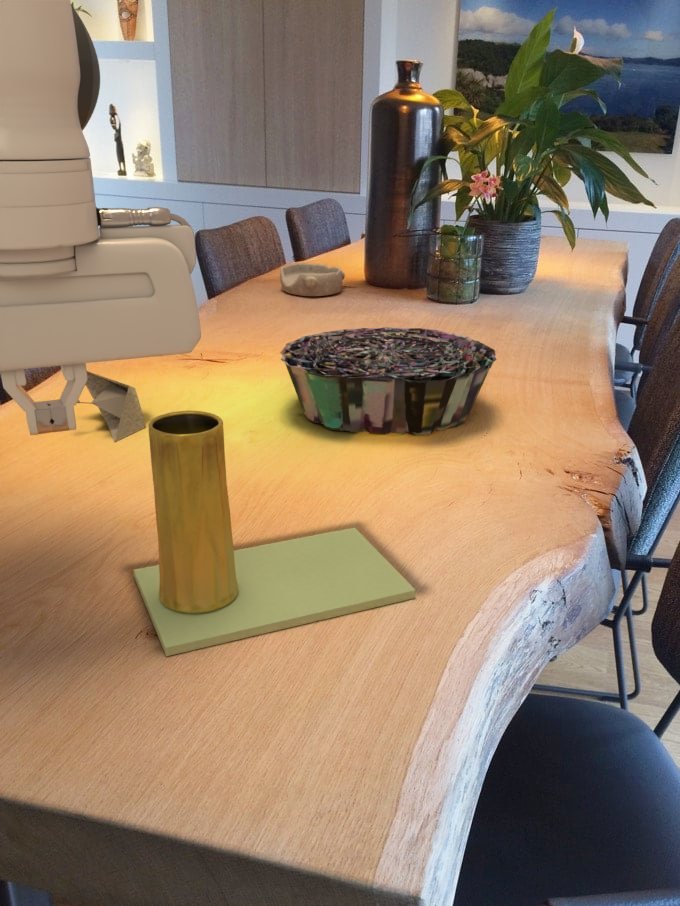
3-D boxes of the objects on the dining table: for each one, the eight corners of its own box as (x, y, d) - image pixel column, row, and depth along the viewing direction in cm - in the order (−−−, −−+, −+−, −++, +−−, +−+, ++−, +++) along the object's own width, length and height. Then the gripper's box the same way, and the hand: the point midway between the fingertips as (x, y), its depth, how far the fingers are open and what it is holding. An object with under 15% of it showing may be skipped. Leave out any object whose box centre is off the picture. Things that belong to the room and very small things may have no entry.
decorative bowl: (513, 457, 99) (527, 377, 95) (282, 449, 94) (287, 364, 90) (458, 392, 122) (468, 325, 118) (271, 383, 117) (274, 313, 113)
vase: (213, 622, 61) (200, 442, 55) (142, 605, 63) (123, 429, 57) (252, 583, 67) (244, 414, 60) (186, 568, 68) (172, 403, 62)
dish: (318, 301, 171) (318, 276, 168) (266, 292, 177) (265, 268, 175) (357, 290, 182) (358, 267, 180) (307, 282, 188) (307, 260, 186)
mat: (166, 656, 59) (165, 647, 58) (134, 577, 68) (133, 569, 68) (415, 598, 67) (416, 589, 66) (354, 534, 76) (355, 527, 76)
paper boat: (172, 422, 99) (104, 421, 92) (148, 458, 102) (81, 459, 95) (130, 352, 104) (63, 345, 96) (109, 388, 107) (42, 384, 100)
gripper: (180, 201, 56) (195, 398, 62) (-173, 209, 48) (-118, 435, 54) (205, 210, 51) (219, 424, 56) (-187, 221, 43) (-124, 469, 48)
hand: (52, 430), depth 55 cm, fingers closed
